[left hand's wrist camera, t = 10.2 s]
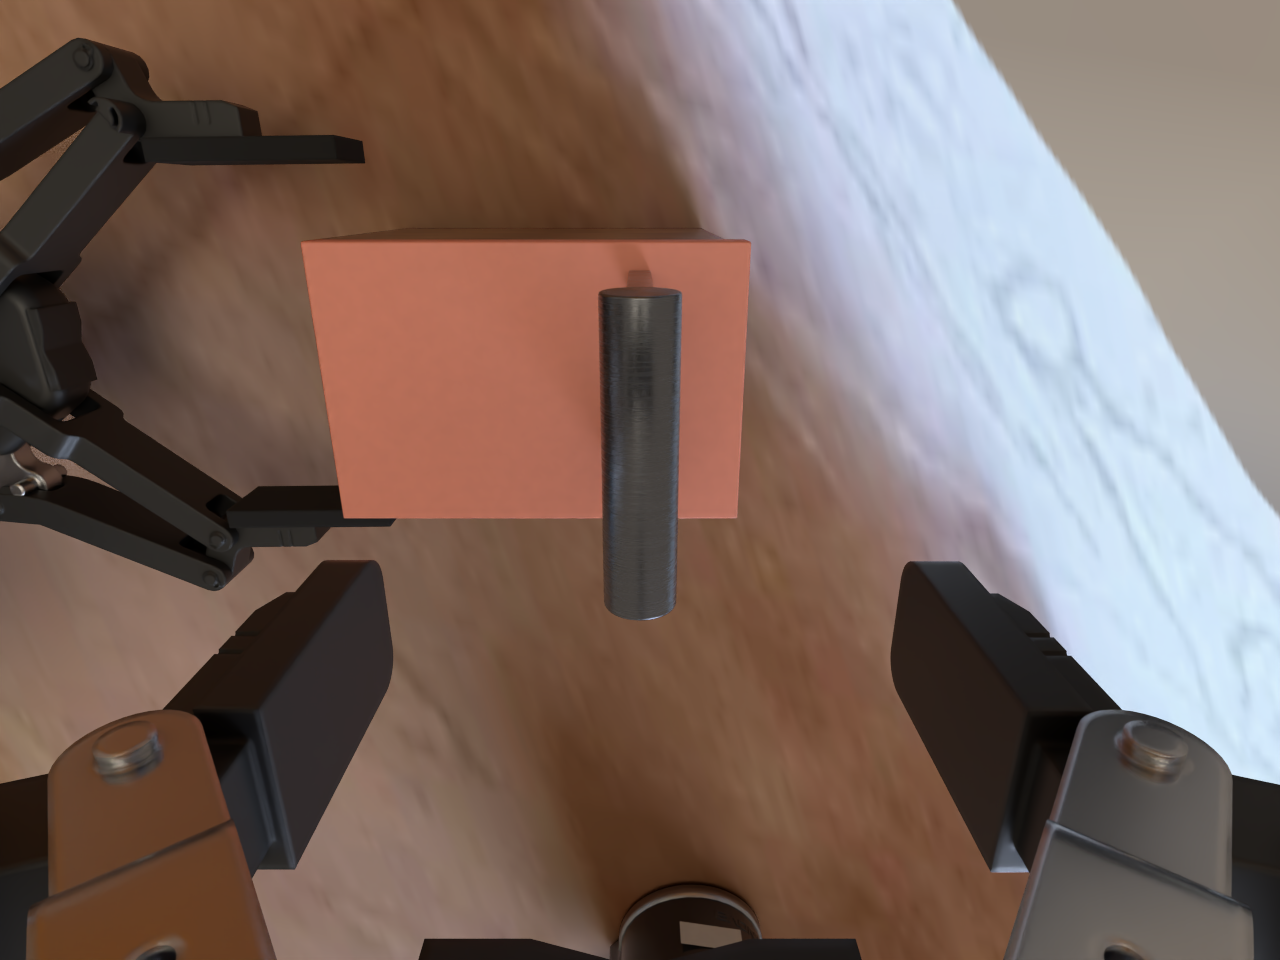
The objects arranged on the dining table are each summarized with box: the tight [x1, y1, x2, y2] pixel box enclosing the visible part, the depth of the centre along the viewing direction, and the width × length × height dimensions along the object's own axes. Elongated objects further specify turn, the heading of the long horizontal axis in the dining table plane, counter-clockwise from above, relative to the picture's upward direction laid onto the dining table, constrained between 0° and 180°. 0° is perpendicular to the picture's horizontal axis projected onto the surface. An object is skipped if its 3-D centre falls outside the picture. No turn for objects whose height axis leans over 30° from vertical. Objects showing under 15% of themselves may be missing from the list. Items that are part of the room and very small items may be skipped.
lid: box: [301, 239, 751, 620], centre depth 21 cm, size 14×10×9 cm
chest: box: [324, 228, 723, 239], centre depth 30 cm, size 14×9×10 cm
